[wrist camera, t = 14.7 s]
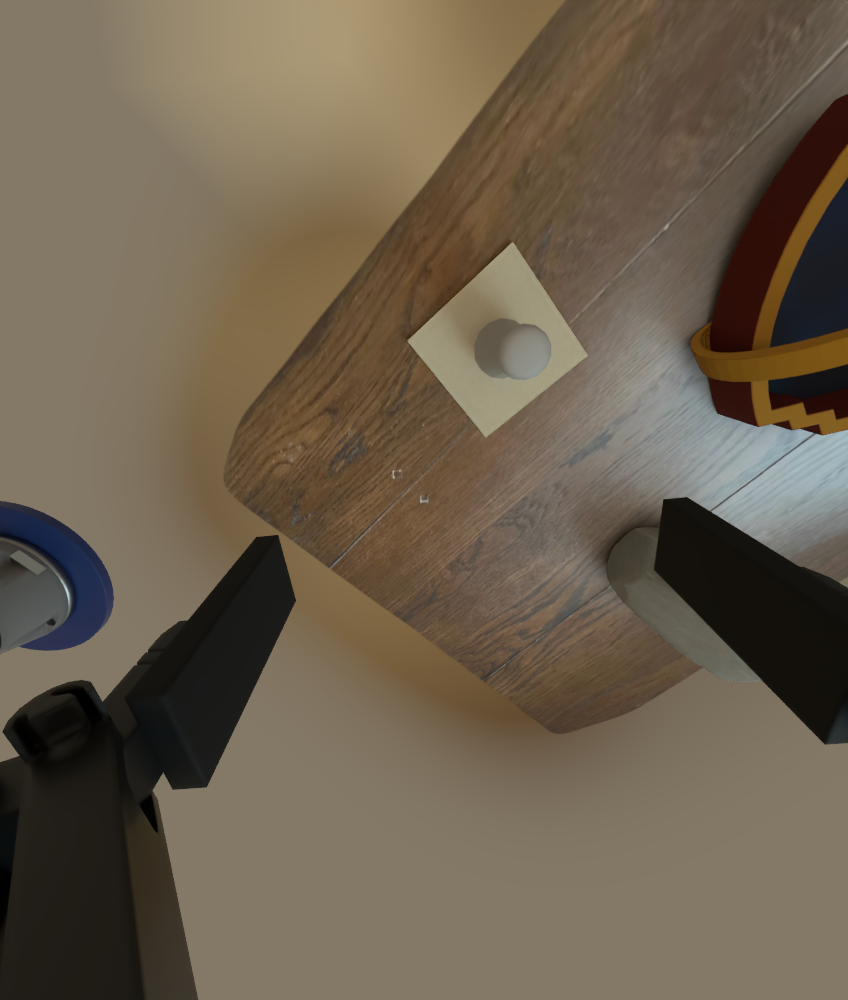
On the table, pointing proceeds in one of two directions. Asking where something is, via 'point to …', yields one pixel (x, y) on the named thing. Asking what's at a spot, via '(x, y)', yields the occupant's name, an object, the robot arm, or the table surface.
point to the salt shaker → (512, 350)
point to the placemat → (458, 323)
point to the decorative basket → (788, 296)
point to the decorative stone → (668, 607)
